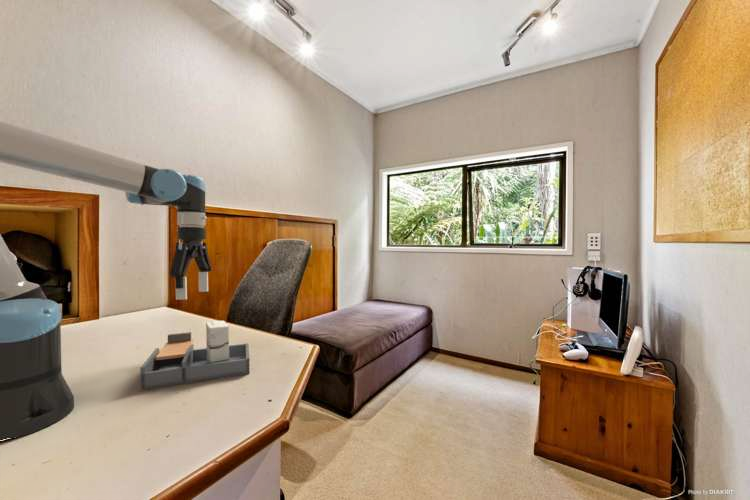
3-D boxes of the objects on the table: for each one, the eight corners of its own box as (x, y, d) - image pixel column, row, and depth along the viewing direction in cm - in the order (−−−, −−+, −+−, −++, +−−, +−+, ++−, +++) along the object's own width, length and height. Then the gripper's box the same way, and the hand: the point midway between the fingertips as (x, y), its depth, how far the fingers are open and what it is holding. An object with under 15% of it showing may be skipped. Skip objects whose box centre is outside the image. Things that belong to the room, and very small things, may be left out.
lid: (155, 360, 81) (155, 348, 81) (166, 344, 93) (166, 334, 93) (186, 356, 84) (186, 345, 84) (193, 341, 96) (193, 331, 96)
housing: (141, 390, 73) (140, 367, 73) (156, 368, 86) (155, 348, 86) (249, 373, 83) (249, 353, 82) (248, 355, 95) (248, 338, 95)
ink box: (230, 368, 84) (229, 325, 83) (209, 372, 81) (209, 328, 80) (224, 358, 91) (224, 319, 90) (205, 362, 88) (205, 321, 87)
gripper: (183, 225, 82) (184, 303, 83) (221, 228, 107) (222, 288, 108) (153, 224, 82) (155, 303, 82) (198, 228, 106) (199, 288, 107)
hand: (193, 295), depth 95 cm, fingers open, 13 cm apart
